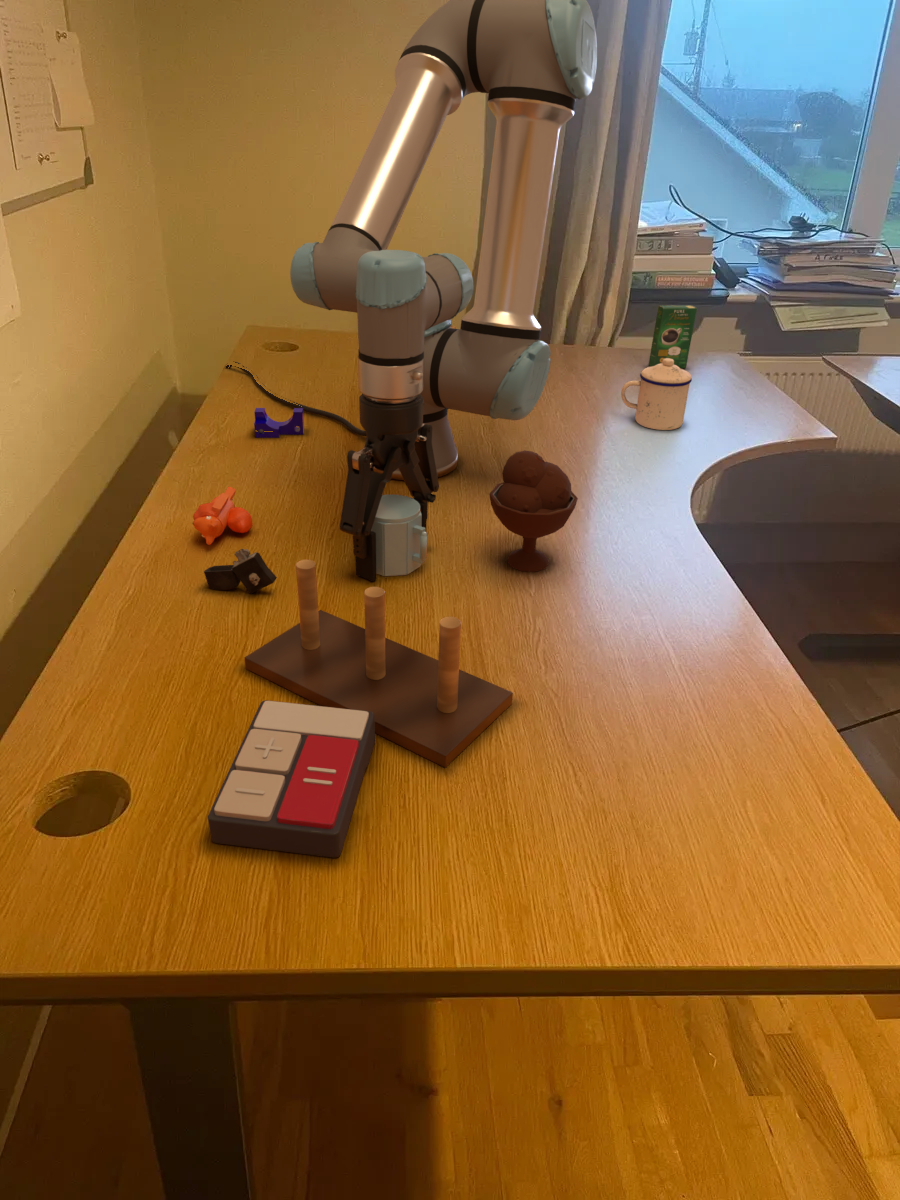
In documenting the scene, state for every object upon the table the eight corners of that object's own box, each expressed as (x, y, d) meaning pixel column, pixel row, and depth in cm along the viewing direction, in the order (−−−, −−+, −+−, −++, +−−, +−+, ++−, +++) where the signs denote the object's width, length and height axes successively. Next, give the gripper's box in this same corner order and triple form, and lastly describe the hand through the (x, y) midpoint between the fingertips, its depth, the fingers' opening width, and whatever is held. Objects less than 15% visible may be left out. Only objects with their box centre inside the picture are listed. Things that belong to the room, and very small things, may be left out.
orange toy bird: (215, 473, 124) (188, 511, 113) (267, 492, 125) (245, 531, 114) (207, 504, 126) (181, 543, 116) (258, 522, 127) (236, 562, 117)
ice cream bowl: (502, 587, 111) (510, 476, 103) (476, 546, 120) (482, 440, 112) (581, 578, 113) (595, 468, 106) (550, 538, 123) (560, 435, 115)
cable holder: (255, 437, 151) (253, 415, 149) (257, 430, 154) (255, 407, 152) (302, 437, 152) (301, 415, 150) (304, 430, 155) (302, 408, 153)
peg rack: (245, 668, 95) (234, 575, 89) (320, 620, 103) (316, 532, 97) (445, 768, 82) (448, 667, 76) (512, 703, 91) (520, 608, 85)
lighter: (221, 609, 109) (195, 576, 107) (228, 601, 111) (202, 568, 109) (271, 585, 106) (245, 550, 104) (277, 577, 107) (252, 542, 105)
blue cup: (352, 564, 115) (351, 508, 110) (387, 543, 120) (386, 489, 116) (408, 586, 110) (409, 528, 106) (442, 564, 115) (443, 508, 111)
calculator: (204, 812, 72) (260, 692, 84) (211, 848, 74) (265, 726, 86) (337, 828, 71) (375, 704, 83) (340, 864, 73) (376, 738, 85)
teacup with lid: (682, 416, 167) (692, 354, 161) (685, 433, 159) (696, 368, 153) (617, 410, 168) (625, 349, 162) (617, 427, 160) (626, 363, 154)
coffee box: (681, 365, 195) (692, 303, 188) (687, 369, 193) (698, 306, 186) (647, 366, 193) (656, 304, 186) (653, 370, 191) (662, 307, 184)
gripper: (354, 427, 94) (358, 606, 106) (471, 377, 110) (464, 537, 122) (301, 411, 98) (311, 586, 109) (422, 365, 113) (419, 522, 125)
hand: (391, 560), depth 115 cm, fingers open, 10 cm apart
